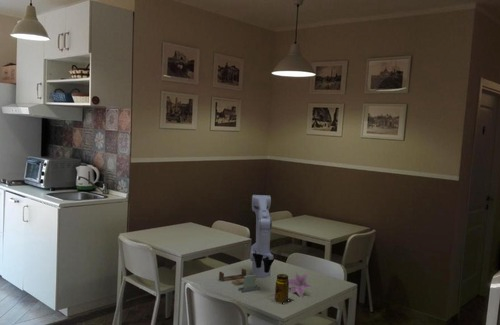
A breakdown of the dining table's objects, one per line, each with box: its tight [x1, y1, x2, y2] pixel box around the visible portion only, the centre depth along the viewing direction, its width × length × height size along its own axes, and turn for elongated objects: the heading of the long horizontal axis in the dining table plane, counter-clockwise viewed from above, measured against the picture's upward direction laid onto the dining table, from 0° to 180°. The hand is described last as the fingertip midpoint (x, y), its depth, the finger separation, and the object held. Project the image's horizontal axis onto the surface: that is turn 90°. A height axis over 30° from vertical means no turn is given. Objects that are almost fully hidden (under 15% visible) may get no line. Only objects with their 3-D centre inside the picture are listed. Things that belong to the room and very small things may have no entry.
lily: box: [288, 271, 312, 298], centre depth 220 cm, size 12×12×10 cm
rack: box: [218, 268, 247, 282], centre depth 229 cm, size 14×14×6 cm
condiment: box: [271, 273, 295, 305], centre depth 210 cm, size 7×8×12 cm
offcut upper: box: [231, 279, 244, 286], centre depth 226 cm, size 6×4×1 cm
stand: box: [238, 284, 261, 294], centre depth 217 cm, size 12×8×2 cm, turn 120°
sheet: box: [242, 274, 257, 290], centre depth 217 cm, size 6×1×8 cm, turn 121°
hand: (262, 270), depth 220 cm, fingers open, 7 cm apart
